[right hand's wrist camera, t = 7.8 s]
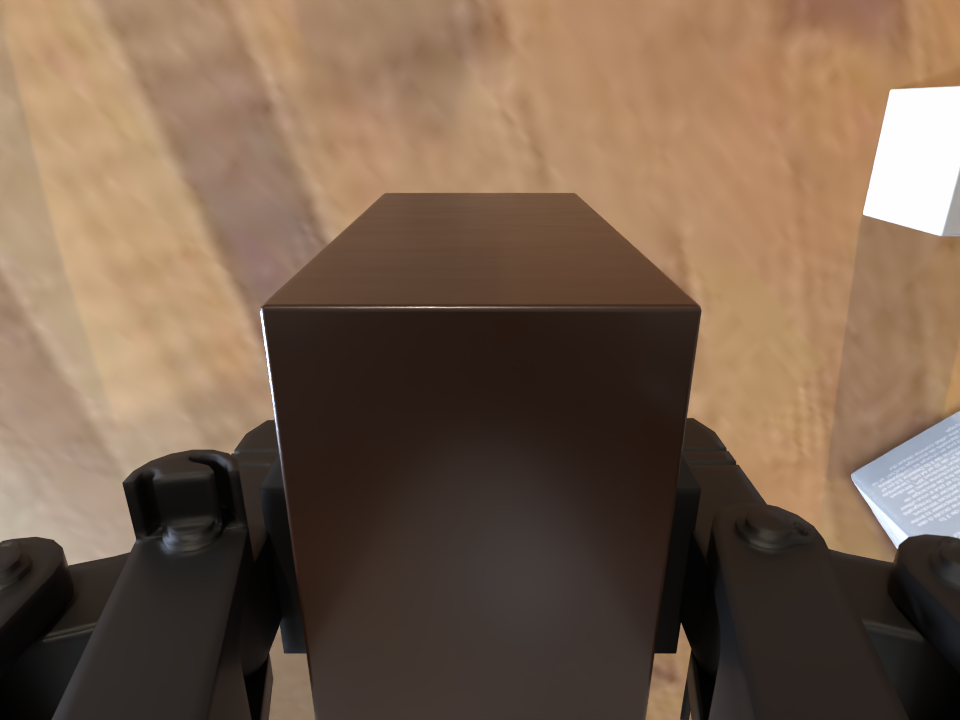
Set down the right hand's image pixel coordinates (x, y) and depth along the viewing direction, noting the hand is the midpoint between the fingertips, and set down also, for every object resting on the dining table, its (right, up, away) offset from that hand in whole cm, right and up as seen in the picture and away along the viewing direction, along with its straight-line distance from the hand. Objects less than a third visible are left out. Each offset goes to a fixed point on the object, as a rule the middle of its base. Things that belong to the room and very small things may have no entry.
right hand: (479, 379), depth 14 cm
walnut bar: (0, -8, +4) cm, 9 cm away
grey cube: (+19, +9, +12) cm, 24 cm away
